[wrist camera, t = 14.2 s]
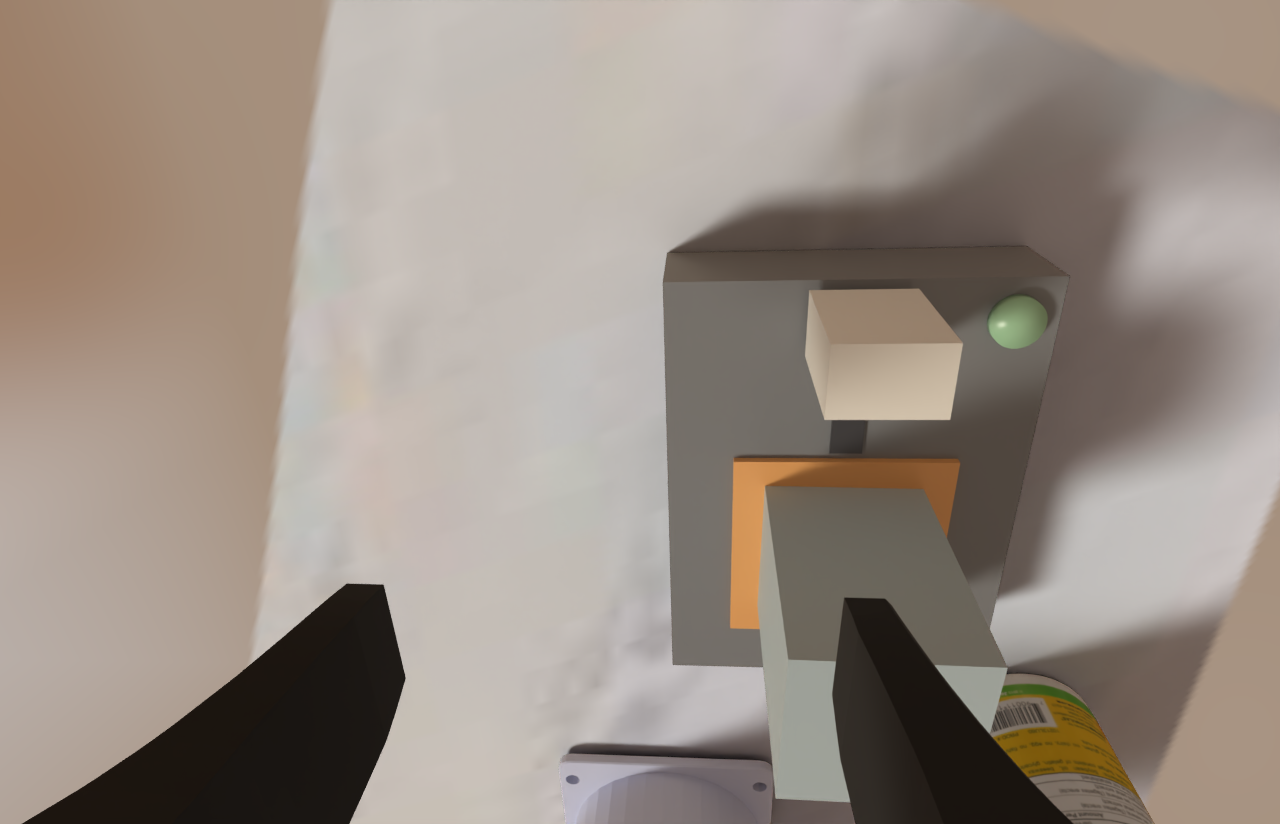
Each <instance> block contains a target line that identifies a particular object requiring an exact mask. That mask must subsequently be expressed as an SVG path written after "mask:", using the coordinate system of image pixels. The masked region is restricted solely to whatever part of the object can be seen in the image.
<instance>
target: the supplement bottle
mask: <svg viewBox="0 0 1280 824" xmlns="http://www.w3.org/2000/svg"><path fill="white" fill-rule="evenodd" d="M990 735H991V736H992V737H993V739H994V740H995V741H996V742H997V743H998V744H999V745H1000V746H1001V748H1002V749H1003V750H1004V751H1005V752H1006V753H1007V754H1008V755H1009V757H1010V758H1011V759H1012V760H1013V761H1014V762H1015V763H1016V764H1017V766H1018V767H1019V768H1020V769H1021V770H1022V771H1023V772H1024V773H1025V774H1026V775H1027V776H1028V778H1029V779H1030V780H1031V781H1032V782H1033V783H1034V784H1035V785H1036V786H1037V787H1038V788H1039V789H1040V790H1041V791H1042V792H1043V793H1044V794H1045V796H1046V797H1047V798H1048V799H1049V800H1050V801H1051V802H1052V803H1053V804H1054V805H1055V806H1056V807H1057V808H1058V809H1059V810H1060V811H1061V812H1062V813H1063V814H1064V815H1065V816H1066V817H1067V818H1068V819H1069V820H1070V821H1071V822H1072V823H1073V824H1154V822H1153V820H1152V818H1151V817H1150V815H1149V813H1148V811H1147V810H1146V808H1145V806H1144V804H1143V802H1142V801H1141V799H1140V797H1139V795H1138V794H1137V792H1136V790H1135V788H1134V787H1133V785H1132V783H1131V781H1130V780H1129V778H1128V776H1127V774H1126V773H1125V771H1124V769H1123V767H1122V765H1121V764H1120V762H1119V760H1118V758H1117V756H1116V755H1115V753H1114V751H1113V749H1112V747H1111V746H1110V744H1109V742H1108V740H1107V738H1106V737H1105V735H1104V733H1103V731H1102V730H1101V728H1100V726H1099V724H1098V722H1097V721H1096V719H1095V717H1094V716H1093V714H1092V713H1091V711H1090V709H1089V707H1088V706H1087V704H1086V703H1085V702H1084V700H1083V699H1082V698H1081V697H1080V696H1079V695H1078V694H1077V693H1076V692H1075V691H1073V690H1072V689H1071V688H1069V687H1068V686H1066V685H1064V684H1062V683H1061V682H1059V681H1056V680H1053V679H1051V678H1047V677H1044V676H1039V675H1033V674H1006V676H1005V680H1004V684H1003V687H1002V691H1001V695H1000V698H999V702H998V706H997V709H996V713H995V717H994V720H993V724H992V728H991V731H990Z"/></svg>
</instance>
